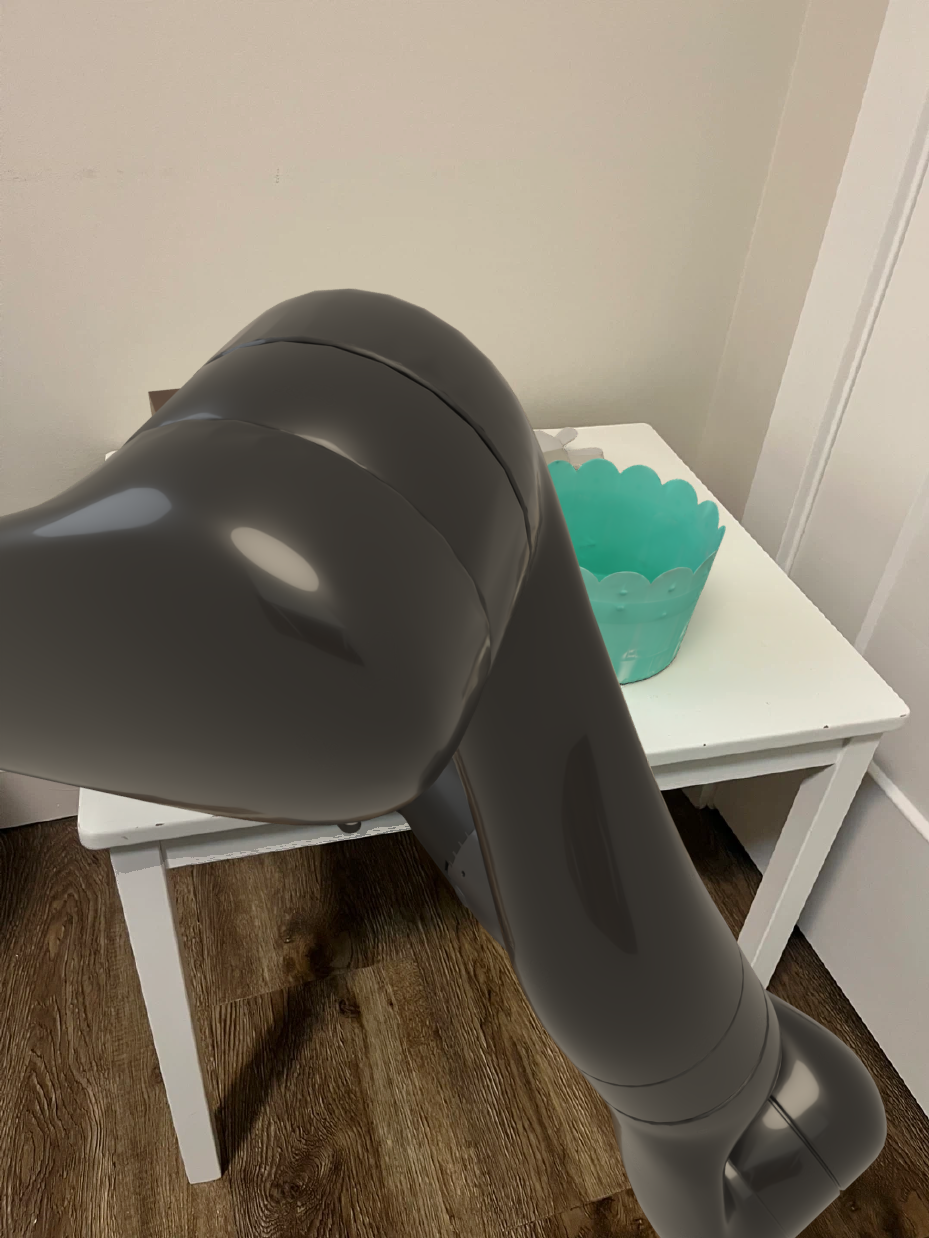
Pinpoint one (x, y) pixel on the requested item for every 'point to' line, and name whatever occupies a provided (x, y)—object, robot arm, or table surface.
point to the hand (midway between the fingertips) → (365, 666)
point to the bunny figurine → (556, 450)
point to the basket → (638, 557)
